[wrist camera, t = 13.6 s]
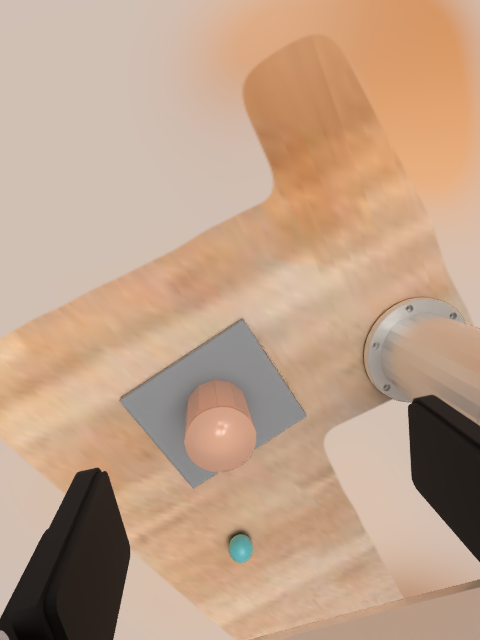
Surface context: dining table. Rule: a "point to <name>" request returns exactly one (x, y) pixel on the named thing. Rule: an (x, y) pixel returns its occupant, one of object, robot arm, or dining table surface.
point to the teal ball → (240, 548)
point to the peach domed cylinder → (218, 427)
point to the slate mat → (203, 366)
